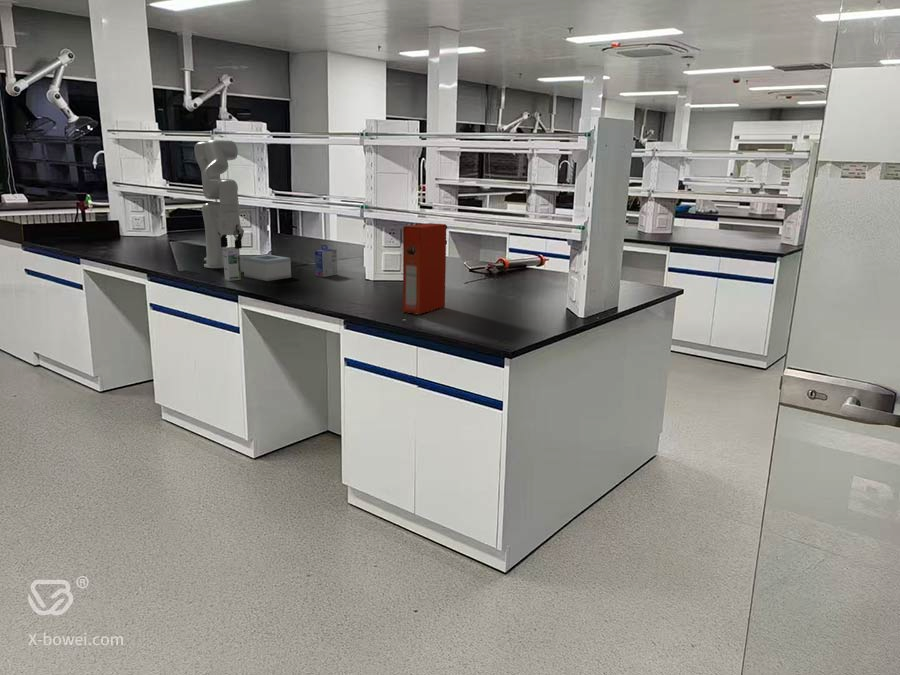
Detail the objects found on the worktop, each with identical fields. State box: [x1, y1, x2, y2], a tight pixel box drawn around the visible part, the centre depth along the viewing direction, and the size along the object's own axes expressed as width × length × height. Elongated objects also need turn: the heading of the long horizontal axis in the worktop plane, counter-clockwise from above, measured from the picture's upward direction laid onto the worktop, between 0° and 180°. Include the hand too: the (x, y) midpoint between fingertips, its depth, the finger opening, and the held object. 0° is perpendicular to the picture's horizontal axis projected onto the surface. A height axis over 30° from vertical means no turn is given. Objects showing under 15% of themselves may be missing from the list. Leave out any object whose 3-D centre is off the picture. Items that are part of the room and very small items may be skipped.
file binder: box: [402, 222, 447, 315], centre depth 255 cm, size 8×17×32 cm, turn 149°
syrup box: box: [223, 246, 242, 282], centre depth 307 cm, size 6×6×14 cm
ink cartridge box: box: [314, 244, 338, 278], centre depth 324 cm, size 10×6×14 cm, turn 145°
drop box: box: [242, 254, 292, 282], centre depth 316 cm, size 16×14×9 cm
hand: (231, 247), depth 304 cm, fingers open, 9 cm apart
